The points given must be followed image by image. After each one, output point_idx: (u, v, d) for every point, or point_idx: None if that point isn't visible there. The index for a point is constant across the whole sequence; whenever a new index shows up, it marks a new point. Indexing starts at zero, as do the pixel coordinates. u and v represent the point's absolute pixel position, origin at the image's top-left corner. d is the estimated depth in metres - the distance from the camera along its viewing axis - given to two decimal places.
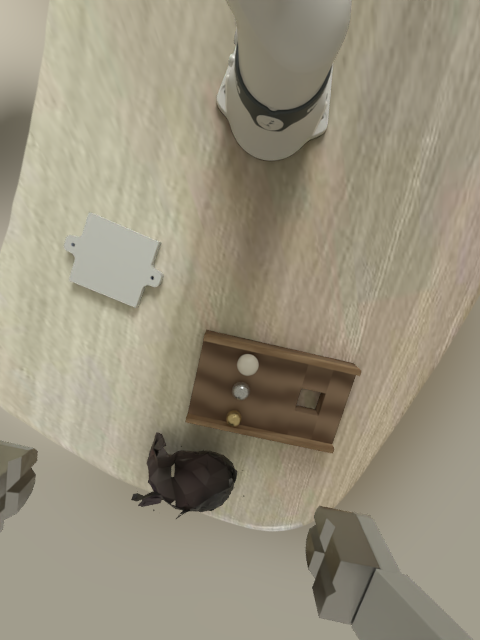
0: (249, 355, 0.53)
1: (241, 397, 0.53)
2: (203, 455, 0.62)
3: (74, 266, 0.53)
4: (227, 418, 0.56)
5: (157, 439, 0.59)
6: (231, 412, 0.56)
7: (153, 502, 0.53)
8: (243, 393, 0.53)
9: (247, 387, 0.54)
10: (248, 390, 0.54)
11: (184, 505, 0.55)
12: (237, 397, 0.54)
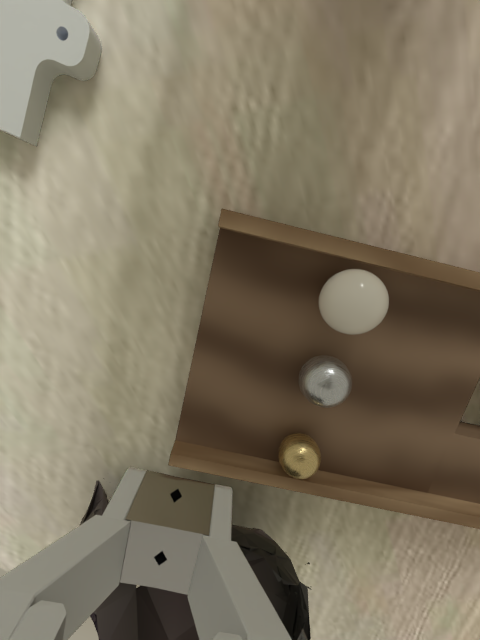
0: (362, 270, 0.17)
1: (333, 399, 0.18)
2: None
3: None
4: (284, 457, 0.20)
5: (97, 498, 0.24)
6: (294, 440, 0.20)
7: None
8: (338, 389, 0.18)
9: (347, 370, 0.19)
10: (350, 379, 0.18)
11: None
12: (320, 399, 0.18)
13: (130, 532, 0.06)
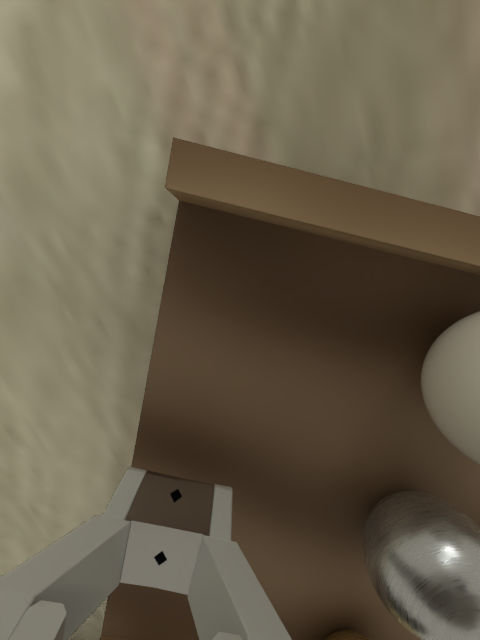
0: None
1: None
2: None
3: None
4: None
5: None
6: None
7: None
8: None
9: None
10: None
11: None
12: None
13: (130, 532, 0.06)
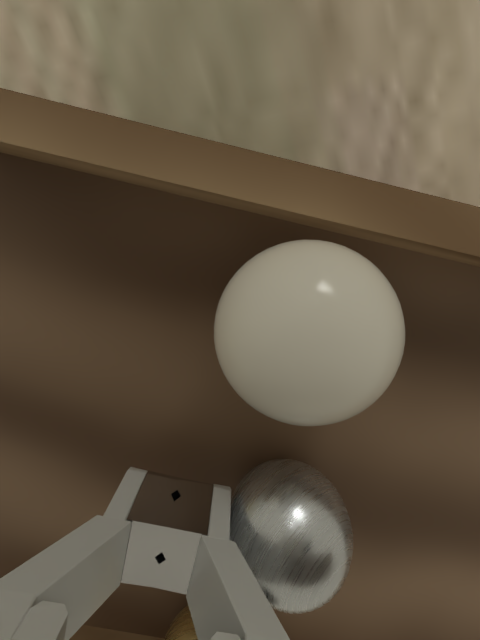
0: None
1: None
2: None
3: None
4: None
5: None
6: (188, 639, 0.09)
7: None
8: (348, 568, 0.07)
9: None
10: None
11: None
12: None
13: (131, 532, 0.06)
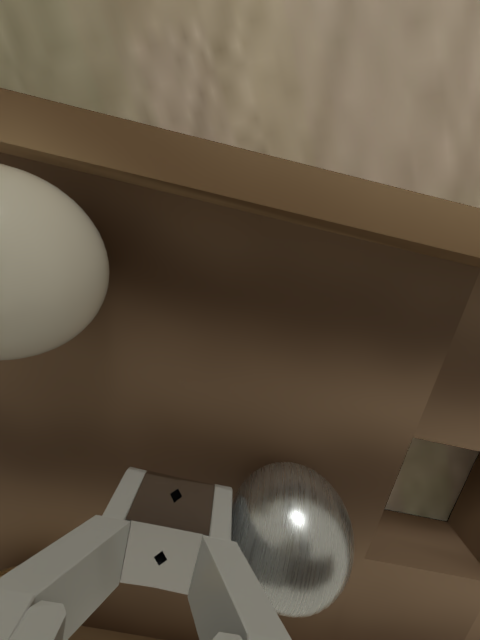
0: None
1: None
2: None
3: None
4: None
5: None
6: None
7: None
8: None
9: (279, 516, 0.07)
10: (266, 540, 0.07)
11: None
12: None
13: (130, 532, 0.06)
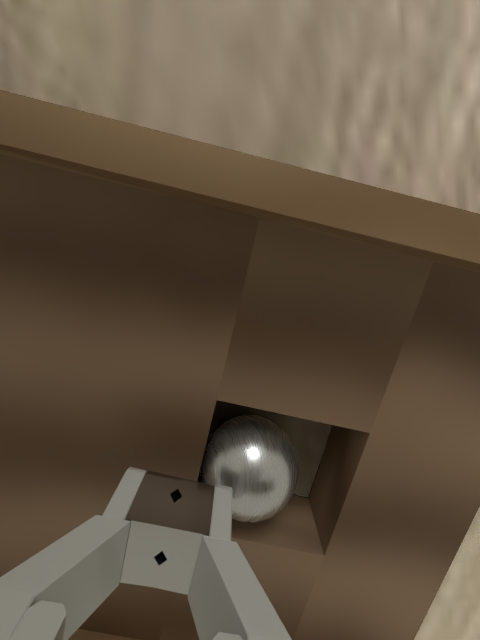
0: None
1: None
2: None
3: None
4: None
5: None
6: None
7: None
8: None
9: None
10: None
11: None
12: None
13: (130, 532, 0.06)
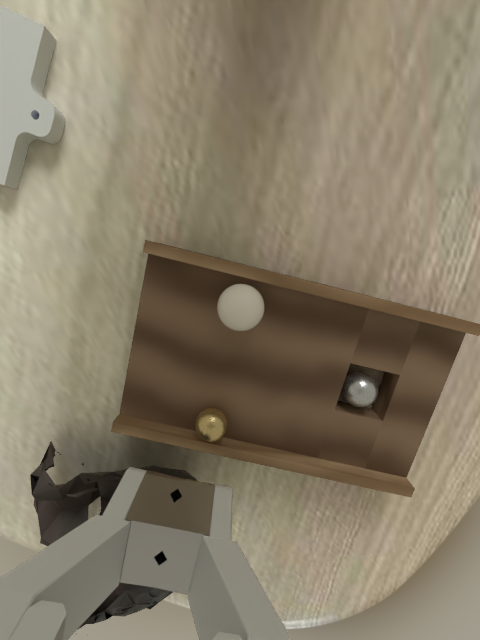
0: (244, 285, 0.24)
1: None
2: None
3: None
4: (197, 424, 0.26)
5: None
6: (206, 412, 0.27)
7: None
8: None
9: None
10: None
11: None
12: None
13: (130, 532, 0.06)
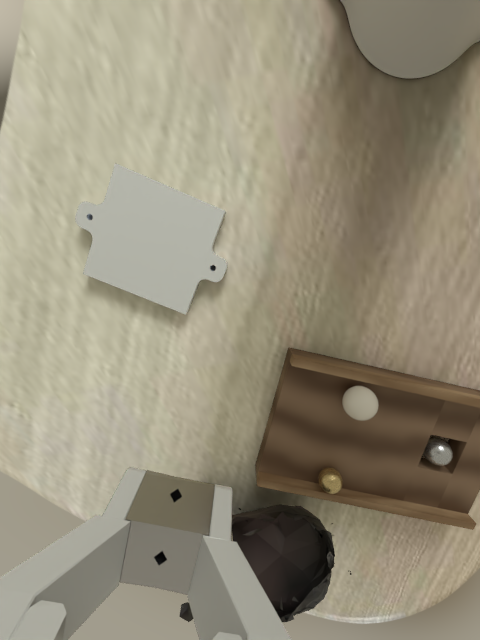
0: (364, 389, 0.34)
1: None
2: None
3: (92, 251, 0.34)
4: (322, 482, 0.37)
5: None
6: (328, 472, 0.37)
7: None
8: None
9: (433, 438, 0.40)
10: None
11: None
12: None
13: (130, 532, 0.06)
